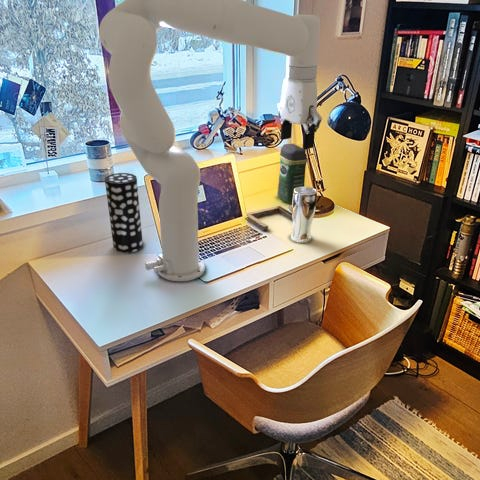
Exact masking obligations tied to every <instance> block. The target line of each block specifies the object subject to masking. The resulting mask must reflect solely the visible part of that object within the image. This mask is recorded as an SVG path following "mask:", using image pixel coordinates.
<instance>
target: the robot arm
mask: <svg viewBox="0 0 480 480" xmlns="http://www.w3.org/2000/svg"><path fill="white" fill-rule="evenodd" d="M163 27H165V28H170V29H173V30H176V31H177V30H178V31H181V32H185V33H188V34H193V35H197V36H200V37H204V38H208V39H212V40H216V41H220V42H224V43H227V44H231V45H240V46H247V47H252V48H257V49H262V50H264V51H266V52H270V53H274V54H278V55H279V54H280V55H284V56H286V63H285V64H286V65H285V66H286V67H285V77H284V78H283V81H282V87H281V93H280V102H278V103H277V104H276V105H277V106H276V107H277V110H278V117H279V123H280V140H281V141H284V140H290V139H291V138H292V134H293V133H292V132H293V131H292V129H293V124H295V125H299V126H300V125H302V127H303V129H304V132H303V136H302V148H303V149H305V150H308V149H313V148H314V146H315V135H316V134H315V133H317V131H318V129H319V128H320V125H321V122H322V120H323V117H322V116H321V114H320V113H319V112H318V84H317V73H318V60H319V51H320V50H319V49H320V47H319V46H320V36H321V19H320V17H319V16H318V15H316V14H308V13H307V14H306V13H302V14H301V13H300V14H299V13H298V14H294V15H290V14H286V13H283V12H281V11H277V10H274V9H270V8H267V7H264V6H260V5H256V4H254V3H252V2H249V1H246V0H123V1H122V2H120V3H119V4H118V5H116V6H115V7H114V8H112V9H110V10H109V11H108V12H107V13H106V14H105V15H104V16H103V18H102V19H101V21H100V23H99V27H98V36H99V40H100V43H101V46H102V47H103V48H104V49H105V51H106V52H108V53H109V54H110V58H109V65H108V84H109V89H110V91H111V94H112V96H113V98H114V100H115V103H116V105H117V106H118V108H119V111H120V115H119V128H120V131H121V134H122V135H123V138H124V140H125V141H126V143H127V144H128V146H129V148H130V149H131V151H132V153H133V155H134V156H135V158H136V159H137V161H138V162H139V164H140V165H141V167H142V169H143V170H144V171H145V172H146V173H147V175H148V176H150V177H151V178H152V179H153V180H154V181H156V182H157V183H158V184H160V194H159V199H158V200H159V201H158V216H159V227H160V230H159V231H160V241H161V242H160V243H161V244H160V245H161V253H160V254H158V258H156V259H155V260H154V261H148V262H144V268H145V270H146V271H149V270H153V272H154V273H157V274H158V275H159V276H160V277H161V278H163V279H165V280H168V281H172V282H188V281H192V280H195V279H198V278H200V277H201V276H202V275H203V274H204V273H205V271H206V265H205V263H204V261H203V260H202V259H200V253H199V252H200V250H199V248H200V247H199V214H198V213H199V210H198V209H199V208H198V204H199V203H198V202H199V199H198V198H199V190H200V184H201V169H200V166H199V164H198V161H196V159H195V158H194V157H193V156H192V155H191V154H190V153H188V152H187V151H185V150H183V149H182V148H180V147H177V146H176V145H175V142H176V129H175V126H174V123H173V121H172V119H171V117H170V115H169V114H168V112H167V110H166V108H165V106H164V105H163V102H162V101H161V99H160V98H159V95H158V93H157V91H156V88H155V87H154V84H153V81H152V77H151V68H152V64H153V61H154V59H155V55H156V53H157V51H158V50H157V49H158V34H157V32H158V31H160V30H161V29H162V28H163Z"/></svg>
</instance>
